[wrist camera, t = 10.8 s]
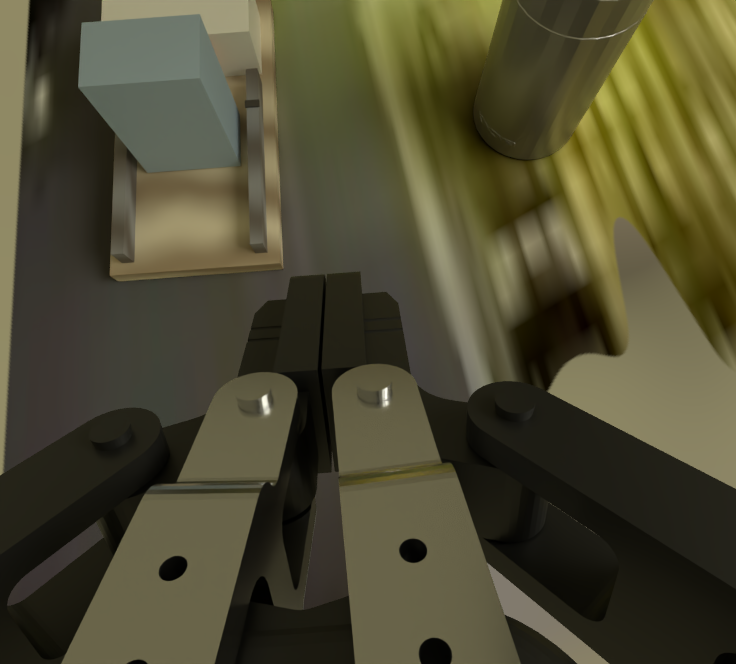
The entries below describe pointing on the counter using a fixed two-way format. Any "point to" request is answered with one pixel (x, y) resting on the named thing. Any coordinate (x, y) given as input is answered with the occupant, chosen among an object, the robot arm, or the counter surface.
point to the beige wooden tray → (206, 195)
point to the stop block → (206, 26)
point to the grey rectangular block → (161, 91)
